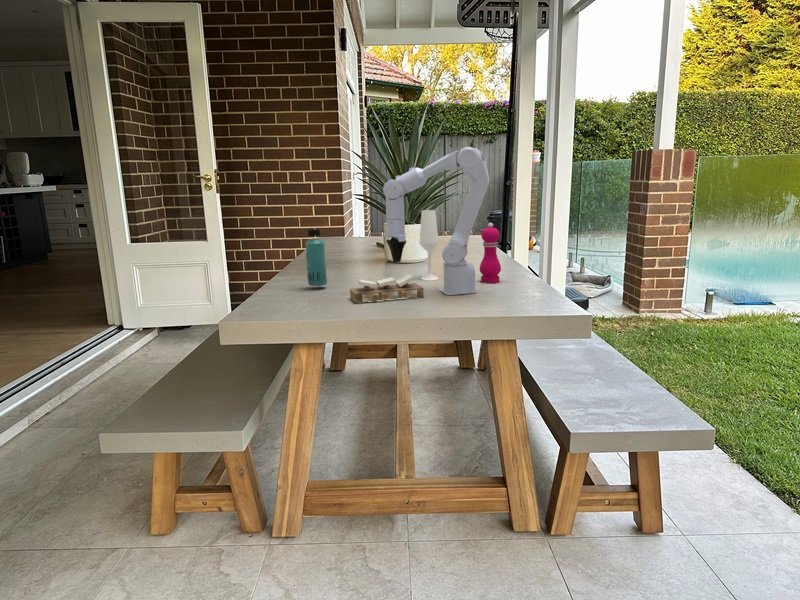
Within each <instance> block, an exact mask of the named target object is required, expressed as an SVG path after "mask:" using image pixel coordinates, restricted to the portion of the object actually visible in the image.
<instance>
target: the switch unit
mask: <svg viewBox="0 0 800 600" xmlns="http://www.w3.org/2000/svg"><path fill="white" fill-rule="evenodd" d="M349 294H350V296H349V297H351V298H350V299H351V300H352V302H353V301H354V302H355V303H360V302H368V301H377V300H386V299H396V298H413V299H416V298H415V297H424V287H423V286H421V285H419V284H418V283H416V282H413V283H411V282H408V283H407V284H405V285H403V286H401V287H399V286H398V285H396V284H389V285H385V286H382V287H380V286H378V285H377V288H376V287H369V286H363V287H354V288H353V287H352V288H349ZM354 302H353V303H354ZM355 303H354V304H355ZM360 304H361V303H360Z"/></svg>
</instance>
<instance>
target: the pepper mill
mask: <svg viewBox="0 0 800 600" xmlns="http://www.w3.org/2000/svg"><path fill="white" fill-rule="evenodd" d="M493 226H494V224H493V223H492V222H489V223H487V227H486V228H484V229H483V230H482V232H481V239H482V240H483V242H482V246H483V249H484V251H483V252H484V254H483V258H482V260H481V262H480V264H479V272H480V274H481V276H480V282H481V283H483V284H498V283H500V276H499V274H500V273H501V272H502V266H501V263H500V260H499V259H498V255H497V247H499V244H498V243H499V241H498V240H499V239H500V231H499V229H497V228H496V227H493Z"/></svg>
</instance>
